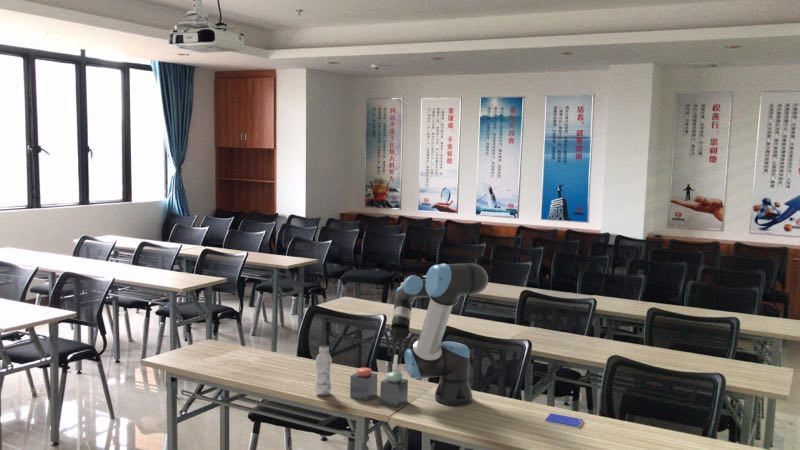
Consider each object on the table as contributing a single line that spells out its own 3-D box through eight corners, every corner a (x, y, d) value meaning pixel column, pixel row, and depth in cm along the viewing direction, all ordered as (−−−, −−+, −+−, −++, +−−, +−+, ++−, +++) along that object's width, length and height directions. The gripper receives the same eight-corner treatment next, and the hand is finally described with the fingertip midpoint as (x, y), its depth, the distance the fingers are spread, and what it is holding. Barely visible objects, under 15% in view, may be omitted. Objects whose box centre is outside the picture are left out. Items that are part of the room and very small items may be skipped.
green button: (404, 397, 275) (404, 373, 274) (397, 401, 270) (397, 377, 269) (390, 394, 278) (391, 371, 277) (383, 398, 273) (384, 374, 272)
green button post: (407, 401, 276) (407, 379, 275) (398, 407, 269) (398, 385, 268) (389, 397, 279) (390, 376, 279) (380, 403, 272) (380, 381, 272)
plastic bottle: (328, 398, 277) (329, 349, 276) (312, 396, 279) (313, 348, 277) (333, 392, 284) (334, 345, 282) (317, 391, 285) (318, 344, 283)
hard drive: (583, 418, 259) (550, 412, 265) (578, 425, 252) (545, 419, 258) (583, 422, 260) (550, 416, 265) (578, 429, 252) (545, 423, 258)
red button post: (376, 395, 282) (377, 373, 281) (367, 401, 275) (367, 379, 274) (360, 391, 286) (360, 370, 285) (350, 397, 279) (350, 375, 278)
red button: (373, 392, 282) (374, 369, 281) (366, 396, 276) (366, 372, 275) (361, 389, 284) (361, 366, 284) (353, 393, 279) (354, 370, 278)
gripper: (417, 325, 290) (411, 376, 275) (386, 323, 292) (379, 374, 277) (416, 316, 284) (410, 367, 270) (385, 314, 286) (377, 365, 271)
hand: (394, 370), depth 273 cm, fingers closed
